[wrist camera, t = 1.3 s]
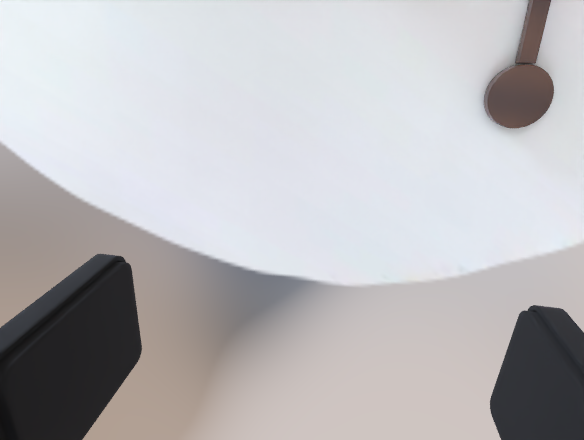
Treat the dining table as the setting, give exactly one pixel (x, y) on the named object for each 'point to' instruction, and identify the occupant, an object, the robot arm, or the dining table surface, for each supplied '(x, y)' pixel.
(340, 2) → the dining table surface
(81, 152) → the dining table surface
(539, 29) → the wooden spoon
